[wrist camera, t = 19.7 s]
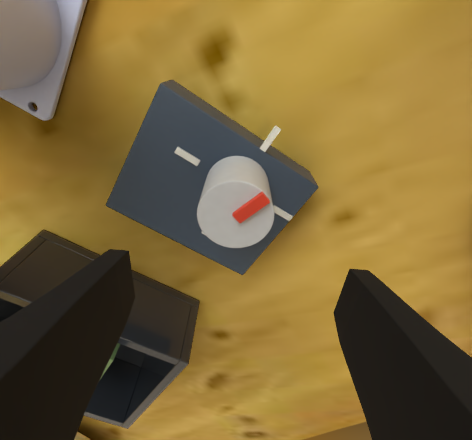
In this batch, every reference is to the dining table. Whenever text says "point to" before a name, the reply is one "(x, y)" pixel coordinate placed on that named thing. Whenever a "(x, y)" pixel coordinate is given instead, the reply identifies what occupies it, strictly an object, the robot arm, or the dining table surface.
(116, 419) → the black storage bin
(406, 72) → the dining table surface
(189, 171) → the rotary dial base
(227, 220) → the dial knob
